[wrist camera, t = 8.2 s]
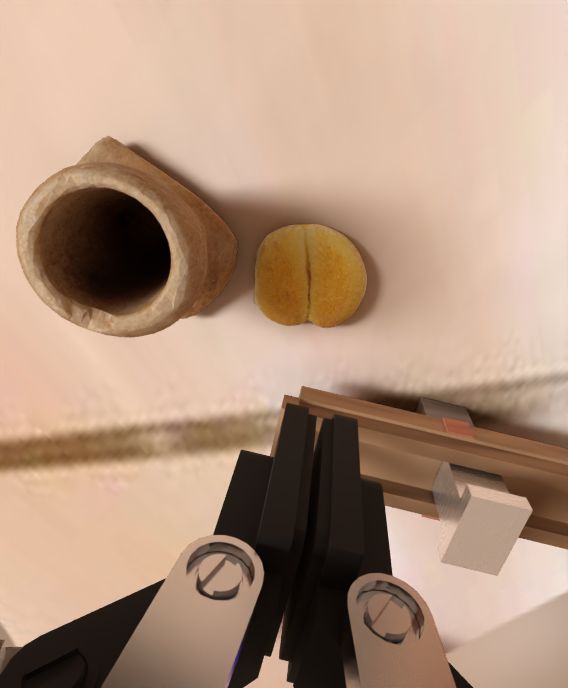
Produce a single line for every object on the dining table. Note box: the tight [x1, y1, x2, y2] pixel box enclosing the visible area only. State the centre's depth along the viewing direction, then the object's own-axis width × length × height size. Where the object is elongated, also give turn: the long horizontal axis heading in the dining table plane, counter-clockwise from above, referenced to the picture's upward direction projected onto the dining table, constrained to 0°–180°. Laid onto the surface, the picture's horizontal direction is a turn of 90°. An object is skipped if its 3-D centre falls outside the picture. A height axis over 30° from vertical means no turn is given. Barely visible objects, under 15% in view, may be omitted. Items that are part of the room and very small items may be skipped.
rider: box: [432, 461, 533, 576], centre depth 35 cm, size 6×4×6 cm, turn 168°
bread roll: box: [254, 224, 367, 328], centre depth 38 cm, size 8×9×4 cm
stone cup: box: [16, 136, 238, 337], centre depth 32 cm, size 15×12×15 cm
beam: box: [270, 386, 568, 549], centre depth 40 cm, size 7×27×8 cm, turn 78°
